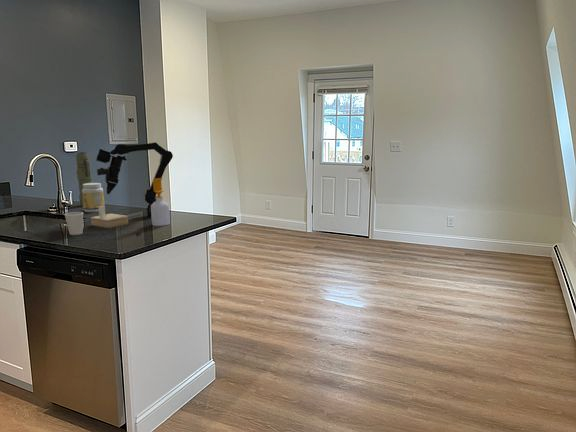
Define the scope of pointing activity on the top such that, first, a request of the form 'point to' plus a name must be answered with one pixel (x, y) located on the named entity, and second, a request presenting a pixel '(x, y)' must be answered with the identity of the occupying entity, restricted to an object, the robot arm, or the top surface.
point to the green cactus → (83, 172)
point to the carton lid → (107, 215)
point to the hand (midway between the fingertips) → (107, 193)
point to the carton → (110, 223)
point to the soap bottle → (159, 206)
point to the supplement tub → (92, 197)
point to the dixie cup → (74, 222)
